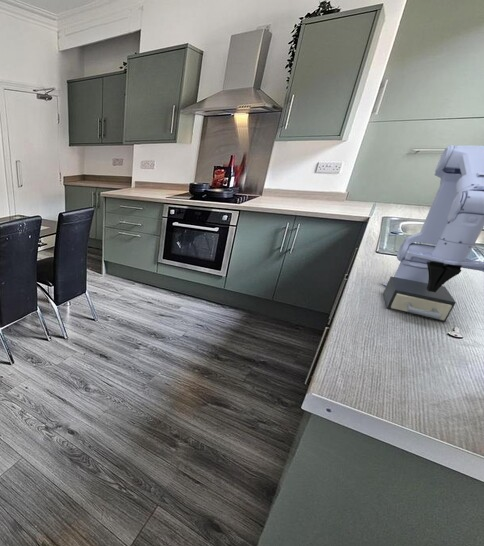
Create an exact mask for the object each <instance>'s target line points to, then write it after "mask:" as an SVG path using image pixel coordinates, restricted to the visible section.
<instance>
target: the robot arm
mask: <svg viewBox="0 0 484 546" xmlns="http://www.w3.org/2000/svg"><path fill="white" fill-rule="evenodd" d="M434 176H435V177H437V178H440V180H439V181H440V182H439V186H438V189H437V191H436V193H435V196H434V198H433V200H432V203H431V206H430V208H429V210H428V213H427V215H426V217H425V220H424V222H423V225H422V227H421V230H420V232H417V233H415V234H412V235H411V234H410V235H408V236H406V237H405V238H404V239H403V242H402V243H401V245H400V246H399V248H398V250H397V254H396V259H397V261H399V264H398V267H397V269H396V271H395V273H394V275H393V277H397V278H402V279H407V280H413V281H418V282H423V283H428V286H427V290H428V291H431V292H436V291H437V290H438V289H439V288H440V287H441V286H443V285H444V284H446V283H447V282H448V281H449V280H451V279H452V278H454V277H456V276H458V275H459V274H460V273H461V272H462V269H467V270H473V271H479V272H483V273H484V261H479V260H475V259H470V258H468V257H469V255H470V253H471V252H472V249H473V248H474V245H475V244H476V242H477V240H478V239H479V237H480V235H481V233H482V231H483V229H484V145H454V144H450V145H448V146H446V148H444V150H443V151H442V154H441V155H440V158H439V160H438V162H437V165H436V167H435V170H434ZM387 284H388V282H382V285H383V286H385V287H386V286H387Z"/></svg>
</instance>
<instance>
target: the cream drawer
mask: <svg viewBox="0 0 484 546" xmlns="http://www.w3.org/2000/svg"><path fill="white" fill-rule="evenodd" d="M451 307H452V306H451V305H450V304H445V303H443V302H438V301H433V300H429V299H424V298H419V297H414V296H410V295H405V294H400V293H397V294H396V296H395V299H394V301H393V303H392V305H391V308H393V309H398V310H402V311H406V312H410V313H415V314H419V315H423V316H428V317H432V318H436V319H440V320H445V318H446V316H447V315H448V313H449V311H450V309H451Z"/></svg>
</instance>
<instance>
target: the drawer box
mask: <svg viewBox="0 0 484 546" xmlns="http://www.w3.org/2000/svg"><path fill="white" fill-rule="evenodd" d="M387 283H388V284H387V286H385V288H384V289H383V293H382V295H383V299H384V302H385V303H384V304H385V307H386V309H387V310H392V311H396V312H400V313H404V314H408V315H413V316H415V317H416V316H417V317H420V318H425V319H429V320H433V321H438V322H441V323H442V322H443V323H446V321H447V319H448V318H449V316H450V314H451V312H452V310H453V309H454V307H455V305H456V303H457V302H456V300H455V298H454V297H453V296H452V295H451V293H450V292H449V290H448V289H447V287H446V286H443V285H442V286H441V287H440V288H439V289H438V290H437V291H436V292H431V291H428V290H427V286H428V283H423V282H418V281H413V280H407V279H402V278H397V277H394V276H390V277H389V279H388V282H387ZM397 293H400V294H405V295H410V296H414V297H419V298H424V299H429V300H433V301H438V302H443V303H445V304H450V305H451V306H452V307H451V309H450V311H449V313H448V315H447V316H446V318H445V320H440V319H436V318H432V317H428V316H423V315H419V314H415V313H410V312H406V311H402V310H398V309H393V308H391V305H392V303H393V301H394V299H395V296H396V294H397Z"/></svg>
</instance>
